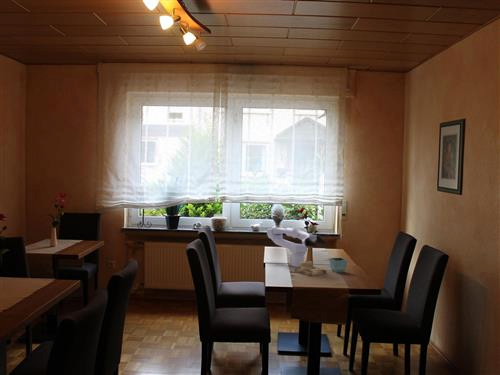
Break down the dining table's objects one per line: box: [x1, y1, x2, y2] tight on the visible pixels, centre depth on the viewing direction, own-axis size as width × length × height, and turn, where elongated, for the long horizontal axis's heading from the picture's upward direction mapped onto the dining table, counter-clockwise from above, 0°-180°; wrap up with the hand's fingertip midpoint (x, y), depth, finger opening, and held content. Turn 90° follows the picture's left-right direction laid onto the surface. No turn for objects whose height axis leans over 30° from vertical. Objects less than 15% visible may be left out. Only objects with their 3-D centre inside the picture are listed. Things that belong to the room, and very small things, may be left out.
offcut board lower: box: [308, 271, 324, 276], centre depth 300 cm, size 5×10×1 cm, turn 129°
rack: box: [294, 266, 327, 277], centre depth 303 cm, size 14×14×3 cm
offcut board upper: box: [309, 267, 323, 273], centre depth 300 cm, size 4×8×1 cm, turn 136°
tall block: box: [299, 260, 314, 271], centre depth 306 cm, size 2×9×6 cm, turn 128°
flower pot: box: [329, 257, 348, 273], centre depth 308 cm, size 9×9×9 cm
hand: (319, 243), depth 304 cm, fingers open, 7 cm apart
